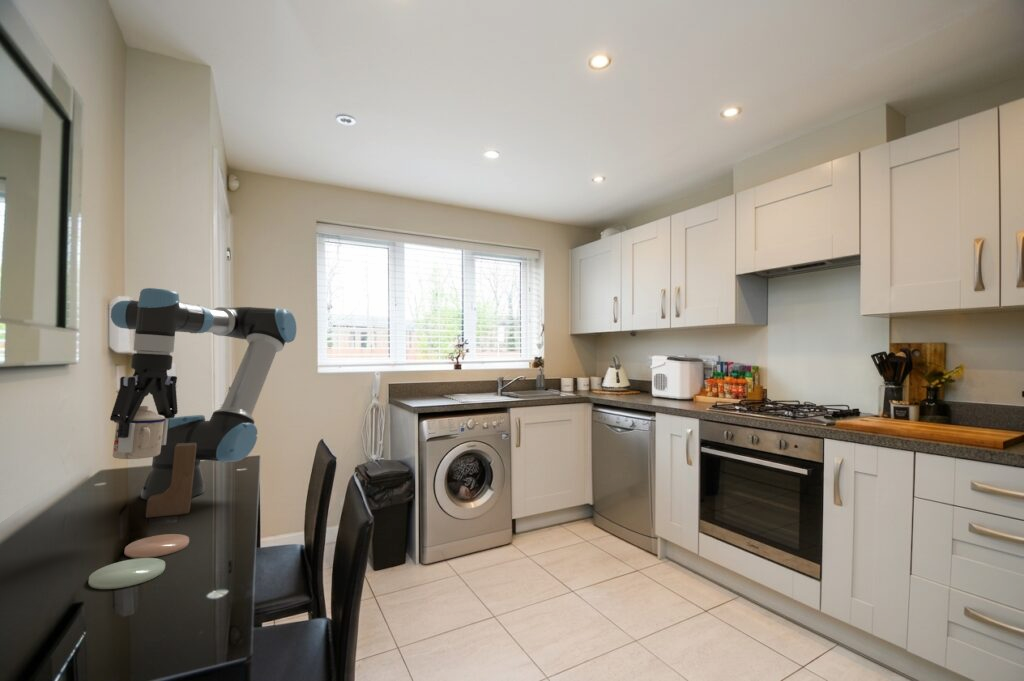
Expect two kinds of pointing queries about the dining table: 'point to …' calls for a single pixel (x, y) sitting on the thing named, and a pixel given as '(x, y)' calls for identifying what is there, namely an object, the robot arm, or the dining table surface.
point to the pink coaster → (156, 546)
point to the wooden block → (176, 485)
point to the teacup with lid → (143, 435)
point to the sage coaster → (126, 573)
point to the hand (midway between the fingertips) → (142, 448)
